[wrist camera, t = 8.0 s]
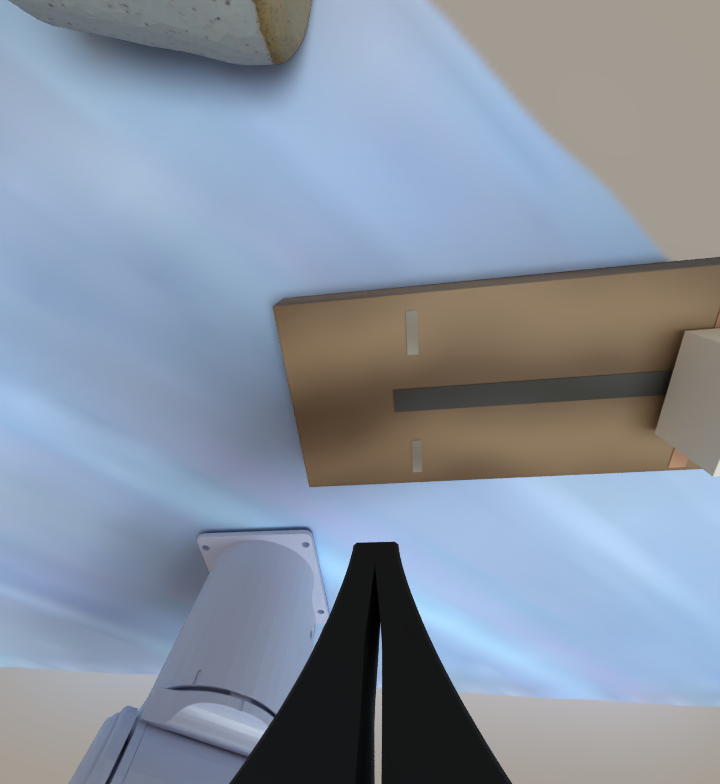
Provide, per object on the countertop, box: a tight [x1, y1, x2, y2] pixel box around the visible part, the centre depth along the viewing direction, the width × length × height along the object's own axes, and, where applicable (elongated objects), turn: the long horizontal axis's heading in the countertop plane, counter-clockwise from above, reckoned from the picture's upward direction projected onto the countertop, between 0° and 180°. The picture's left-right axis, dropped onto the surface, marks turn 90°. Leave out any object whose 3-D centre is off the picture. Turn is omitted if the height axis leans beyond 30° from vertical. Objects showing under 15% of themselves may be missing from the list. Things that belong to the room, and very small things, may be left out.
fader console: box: [273, 257, 720, 487], centre depth 17 cm, size 10×24×2 cm, turn 96°
